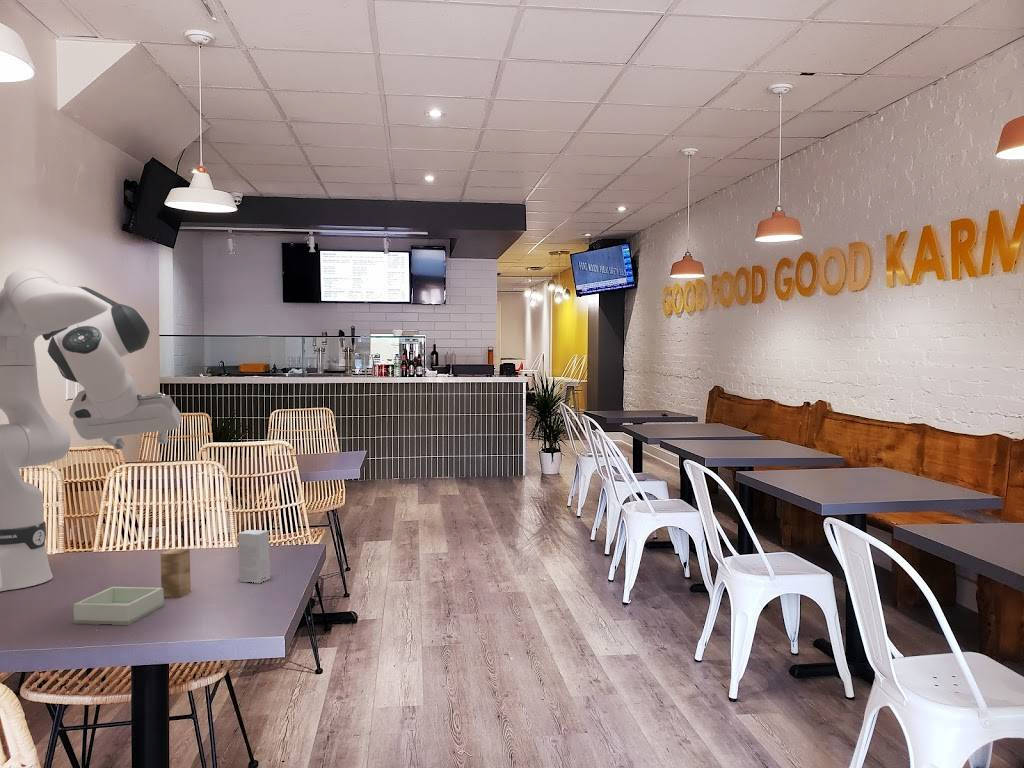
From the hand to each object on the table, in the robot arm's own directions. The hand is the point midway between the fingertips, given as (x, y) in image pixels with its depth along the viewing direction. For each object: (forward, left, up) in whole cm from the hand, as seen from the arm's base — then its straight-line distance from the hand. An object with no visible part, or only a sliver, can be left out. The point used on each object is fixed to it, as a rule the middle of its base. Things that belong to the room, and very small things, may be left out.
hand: (142, 444), depth 160 cm
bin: (-2, -5, -35) cm, 36 cm away
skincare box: (+15, +21, -36) cm, 44 cm away
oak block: (+2, +9, -35) cm, 37 cm away
